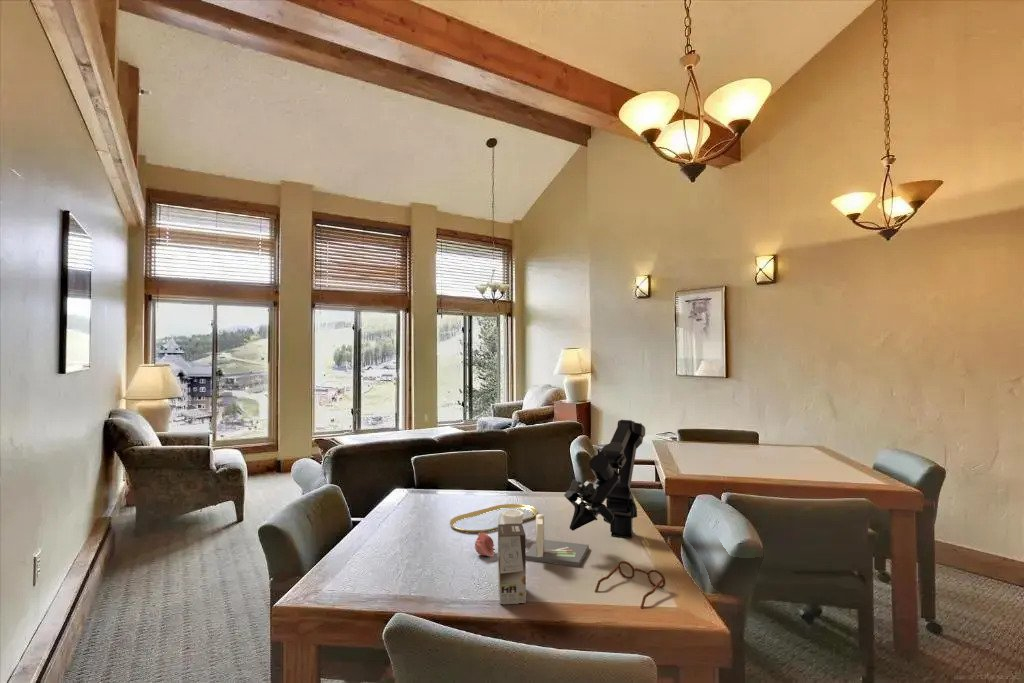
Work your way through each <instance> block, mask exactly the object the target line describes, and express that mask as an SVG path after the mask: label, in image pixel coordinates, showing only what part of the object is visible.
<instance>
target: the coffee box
mask: <svg viewBox="0 0 1024 683" xmlns="http://www.w3.org/2000/svg"><path fill="white" fill-rule="evenodd" d="M497 527H498V529H497V562H498V563H497V565H498V566H497V567H498V568H497V569H498V571H497V572H498V573H497V574H498V575H497V577H498V583H497V584H498V586H497V587H498V596H499V597H498V598H499V599H498V600H499V604H500V605H501V604H503V605H520V604H519V603H524V604H526V600H527V599H526V597H527V596H526V595H527V582H526V580H527V579H526V575H527V573H526V572H527V571H526V570H527V569H526V568H527V567H526V561H527V560H526V552H527V551H526V548H527V546H526V545H527V544H526V543H527V542H526V540H527V538H526V537H527V536H526V533H525V529H524V525H523V522H522V523H520V524H504V523H503V524H502V523H501V524H499V523H498V524H497Z"/></svg>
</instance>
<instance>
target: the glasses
mask: <svg viewBox="0 0 1024 683" xmlns="http://www.w3.org/2000/svg"><path fill="white" fill-rule="evenodd" d="M622 564H624V565H627V566H628V567H629V568H630V569H631V571H632V572H631V574H632V575H631V576H629V575H626V574H624V573H623V572H624V571H622V569H621V568H622V567H621V565H622ZM616 571H618V572H619V573H620V575H621V576H622V578H624V579H625V578H626V579H629V580H631V579H634V577H635V575H636V572H638V573H641V574H645V575H647V579H648V582H649V584H650V585H651V586H652V589H651V590H650V591H647V592H646V593H645V594H644V595H643V597H642V600H641V604H640V608H641V609H640V608H639V609H640V610H642V609H643V608H644V606H645V602H646V599H647V597H649V596H650V595H653V594H654V593H655V591H657V589H660V588H661V589H663V588H665V586H666V583H667V582H666V578H665V576H664V574H663V573H662V572H661V571H659V570H657V569H649V570H648V571H647V570H646V569H641V568H637V567H634V566H633V564H632V563H630V562H629V561H625V560H621V561H619V563H618V564H617V565H616V566H615V567H614V568H613V569H612V570H611V571H610V572H609V573H608V575H606V576H604V577H601V578H600V579H599V580H597V584H596V586H595V589H594V593H595V594H596V593H598V592H599V588H600V586H601V583H602V582H603V581H606V580H609V579H610V577H611V576H612V575H613V574H615V572H616ZM652 573H655V574H657V575H658V576H660V577H661V578H660V579H659V581H658V582H657V583H656V584H655V583H654V582H653V581H652V579H651V574H652Z"/></svg>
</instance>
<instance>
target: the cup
mask: <svg viewBox="0 0 1024 683" xmlns="http://www.w3.org/2000/svg"><path fill="white" fill-rule="evenodd" d="M524 515H525V513H524V512H523V511H522V510H520V509H507V510H504V511H503V512H501V513H500V514H499V516H498V525H499V524H502V522H503V524H520V523H522V524H523V522H524V521H523V519H524Z"/></svg>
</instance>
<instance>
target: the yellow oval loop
mask: <svg viewBox="0 0 1024 683" xmlns="http://www.w3.org/2000/svg"><path fill="white" fill-rule="evenodd" d="M500 508H509V509H516V508H521V509H520V510H524V509H526V510H525V511H527V510H530V511H532V512H533V513H534V515H533V514H532V515H531V516H528V517H526V518H523V522H526V521H530V520H531V518H532V519H534V518H536V515H538V510H537V509H536V508H534V507H533V506H532V505H531V506H530V505H527V504H521V503H519V504H518V503H504V504H498V505H494V506H491V507H486V508H482V509H479V510H475V511H471V512H468V513H463V514H459V515H457V516H454V517H453V518H451V519H450V520H449V525H450V526H451V528H452V529H453V530H455V529H456V530H455V531H458V532H461V531H462V532H461V533H466V532H468V533H467V534H480V532H481V533H482V532H484V531H485V533H489V531H490V532H493V530H494V531H496V529H497V530H498V526H496V527H492V528H487V529H463V528H458V527H456V526H455V527H454V526H453V524H454V523H455V522H456V521H458V520H460V521H462V520H461V519H463V520H465V519H464V518H467V519H469V518H468V517H471V518H474V517H478V516H481V515H480V514H482V515H484V514H483V513H485V514H487V513H486V512H489V511H493V510H496V511H498V510H497V509H500ZM500 510H501V509H500ZM530 511H529V512H530ZM493 512H494V511H493ZM489 513H490V512H489ZM477 515H478V516H477ZM473 516H474V517H473ZM458 522H459V521H458ZM479 531H480V532H479Z"/></svg>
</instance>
